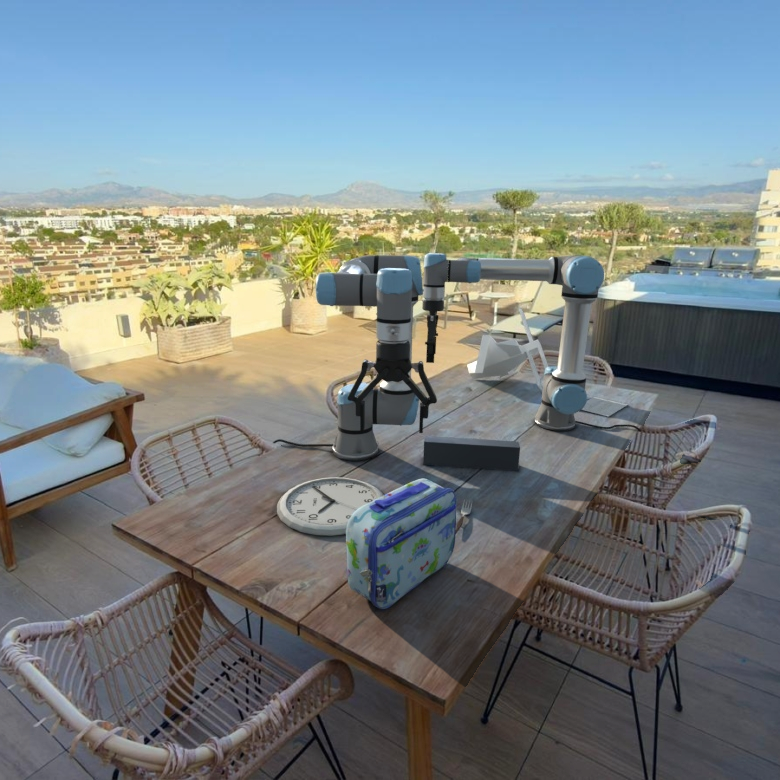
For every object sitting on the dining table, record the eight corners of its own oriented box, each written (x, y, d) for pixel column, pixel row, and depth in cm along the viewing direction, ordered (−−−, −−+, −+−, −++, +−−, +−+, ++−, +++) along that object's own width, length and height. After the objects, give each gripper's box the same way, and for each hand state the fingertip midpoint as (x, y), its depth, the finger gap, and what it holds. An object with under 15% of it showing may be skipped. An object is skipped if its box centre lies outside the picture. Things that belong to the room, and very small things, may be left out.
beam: (516, 464, 170) (518, 441, 167) (517, 470, 165) (520, 447, 163) (423, 458, 173) (424, 435, 171) (423, 464, 168) (423, 441, 166)
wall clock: (392, 527, 129) (269, 531, 127) (392, 533, 130) (269, 537, 127) (383, 473, 158) (282, 475, 155) (383, 478, 158) (283, 480, 156)
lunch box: (375, 622, 100) (376, 527, 94) (339, 595, 108) (338, 505, 101) (459, 565, 118) (465, 481, 112) (424, 545, 125) (427, 465, 119)
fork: (449, 535, 129) (449, 528, 129) (463, 505, 144) (463, 498, 143) (459, 537, 129) (460, 530, 128) (472, 507, 143) (473, 500, 142)
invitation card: (608, 416, 214) (573, 407, 224) (608, 416, 214) (573, 407, 224) (627, 404, 229) (594, 396, 238) (627, 405, 229) (594, 397, 239)
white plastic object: (488, 421, 263) (468, 398, 238) (469, 347, 285) (449, 320, 260) (560, 397, 251) (547, 370, 226) (534, 322, 273) (519, 290, 248)
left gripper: (334, 342, 112) (335, 434, 119) (451, 345, 111) (446, 438, 117) (339, 335, 119) (340, 422, 126) (449, 338, 118) (444, 425, 125)
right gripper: (424, 294, 195) (422, 349, 202) (420, 303, 172) (418, 366, 178) (445, 294, 194) (442, 350, 201) (443, 304, 171) (440, 367, 177)
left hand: (391, 430), depth 122 cm, fingers open, 13 cm apart
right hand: (431, 358), depth 189 cm, fingers open, 13 cm apart
